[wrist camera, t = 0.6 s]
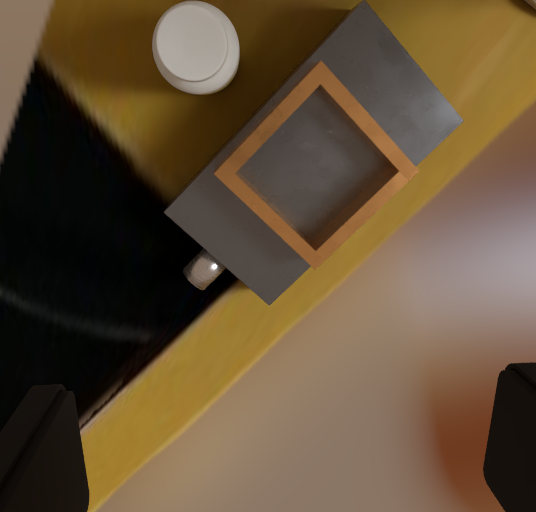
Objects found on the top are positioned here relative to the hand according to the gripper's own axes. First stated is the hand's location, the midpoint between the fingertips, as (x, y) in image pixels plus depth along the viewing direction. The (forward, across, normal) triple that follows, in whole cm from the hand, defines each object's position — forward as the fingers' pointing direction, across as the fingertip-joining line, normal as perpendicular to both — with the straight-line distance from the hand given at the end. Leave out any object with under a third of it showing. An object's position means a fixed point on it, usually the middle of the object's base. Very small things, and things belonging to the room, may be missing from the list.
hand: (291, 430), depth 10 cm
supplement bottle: (+30, +3, -10) cm, 32 cm away
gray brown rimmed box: (+30, -4, -1) cm, 30 cm away
